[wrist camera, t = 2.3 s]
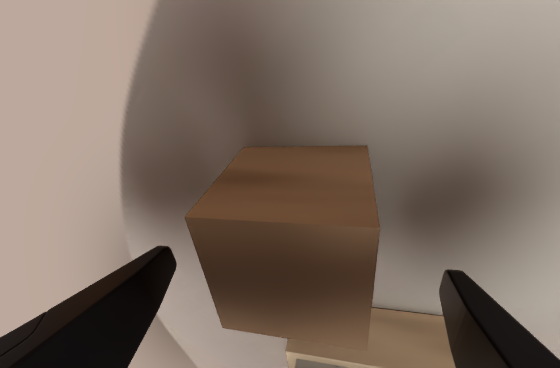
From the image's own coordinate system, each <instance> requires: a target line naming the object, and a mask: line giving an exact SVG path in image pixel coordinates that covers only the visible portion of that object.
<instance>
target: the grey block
mask: <svg viewBox="0 0 560 368" xmlns="http://www.w3.org/2000/svg"><path fill="white" fill-rule="evenodd" d="M295 368H348V367H343V366H337V365H331V364H325V363H319V362H314V361H308V360H302V359H296V364H295Z"/></svg>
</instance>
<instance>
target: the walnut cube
mask: <svg viewBox="0 0 560 368" xmlns="http://www.w3.org/2000/svg"><path fill="white" fill-rule="evenodd" d="M185 220H186V223H187V226H188V229H189V232H190V234H191V237H192V240H193V243H194V246H195V249H196V252H197V255H198V258H199V261H200V264H201V266H202V269H203V272H204V275H205V278H206V281H207V284H208V287H209V290H210V293H211V296H212V298H213V301H214V304H215V307H216V310H217V313H218V316H219V319H220V322H221V325H222V327H223V328H226V329H232V330H238V331H244V332H251V333H257V334H263V335H269V336H276V337H282V338H288V339H294V340H300V341H307V342H313V343H319V344H325V345H332V346H338V347H344V348H350V349H356V350H363V351H367V347H368V338H369V328H370V319H371V309H372V299H373V290H374V280H375V271H376V261H377V251H378V242H379V232H380V225H379V219H378V212H377V206H376V199H375V193H374V186H373V180H372V173H371V166H370V160H369V153H368V147H367V146H301V147H244V148H243V149H242V150H241V151H240V153H239V154H238V155H237V156H236V157H235V158H234V160H233V161H232V162H231V163H230V164H229V165H228V167H227V168H226V169H225V170H224V171H223V173H222V174H221V175H220V176H219V177H218V178H217V180H216V181H215V182H214V183H213V184H212V185H211V187H210V188H209V189H208V190H207V191H206V193H205V194H204V195H203V196H202V197H201V198H200V200H199V201H198V202H197V203H196V204H195V206H194V207H193V208H192V209H191V210H190V211H189V213H188V214H187V215H186V216H185Z"/></svg>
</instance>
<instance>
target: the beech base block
mask: <svg viewBox="0 0 560 368" xmlns="http://www.w3.org/2000/svg"><path fill="white" fill-rule="evenodd" d="M286 357H287V363H288V368H295V364H296V359H302V360H308V361H314V362H319V363H325V364H331V365H337V366H343V367H348V368H456V367H455V364H454V360H453V357H452V354H451V350H450V345H449V341H448V336H447V331H446V326H445V321H444V316H437V315H428V314H420V313H412V312H403V311H395V310H387V309H378V308H372V309H371V319H370V328H369V338H368V347H367V351H363V350H356V349H350V348H344V347H338V346H332V345H325V344H319V343H313V342H307V341H300V340H294V339H288V341H287V346H286Z"/></svg>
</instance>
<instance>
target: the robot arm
mask: <svg viewBox="0 0 560 368" xmlns="http://www.w3.org/2000/svg"><path fill="white" fill-rule="evenodd" d="M176 265H177V264H176V260H175V258H174V255H173V253H172V250H171V248H170V247H168V246H157V247H155V248H153V249H152V250H150V251H148V252H146V253H145V254H143V255H141V256H140V257H138V258H136V259H135V260H133V261H131V262H129V263H128V264H126V265H124V266H123V267H121V268H119V269H117V270H116V271H114V272H112V273H111V274H109V275H107V276H106V277H104V278H102V279H100V280H99V281H97V282H95V283H94V284H92V285H90V286H88V287H87V288H85V289H84V290H82V291H80V292H78V293H77V294H75V295H73V296H71V297H70V298H68V299H66V300H65V301H63V302H61V303H60V304H58V305H56V306H54V307H53V308H51V309H49V310H48V311H47V312H44V313H42V314H41V315H39V316H37V317H36V318H34V319H32V320H30V321H29V322H27V323H25V324H23V325H22V326H20V327H18V328H17V329H15V330H13V331H11V332H9V333H8V334H6V335H4V336H2V337H0V368H128V366H129V364H130V362H131V360H132V358H133V356H134V354H135V353H136V351H137V349H138V347H139V345H140V343H141V341H142V340H143V338H144V336H145V334H146V332H147V330H148V328H149V327H150V325H151V323H152V321H153V319H154V317H155V315H156V313H157V311H158V309H159V307H160V305H161V303H162V301H163V298H164V296H165V294H166V291H167V289H168V286H169V284H170V282H171V279H172V277H173V275H174V272H175V270H176ZM439 295H440V301H441V306H442V311H443V316H444V321H445V326H446V331H447V336H448V341H449V345H450V350H451V354H452V357H453V360H454V364H455V367H456V368H560V360H559V359H558V358H557V357H556V356H555V355H554V354H553V353H552V352H551V351H550V350H549V349H547V348H546V347H545V346H544V345H543V344H542V343H541V342H540V341H539V340H538V339H536V338H535V337H534V336H533V335H532V334H531V333H530V332H529V331H528V330H527V329H526V328H524V327H523V326H522V325H521V324H520V323H519V322H518V321H517V320H516V319H515V318H514V317H512V316H511V315H510V314H509V313H508V312H507V311H506V310H505V309H504V308H503V307H501V306H500V305H499V304H498V303H497V302H496V301H495V300H494V299H493V298H492V297H491V296H489V295H488V294H487V293H486V292H485V291H484V290H483V289H482V288H481V287H480V286H479V285H477V284H476V283H475V282H474V281H473V280H472V279H471V278H470V277H469V276H468V275H466V274H465V273H464V272H463V271H460V270H449V269H448V270H445V272H444V274H443V278H442V281H441V285H440V289H439Z"/></svg>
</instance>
